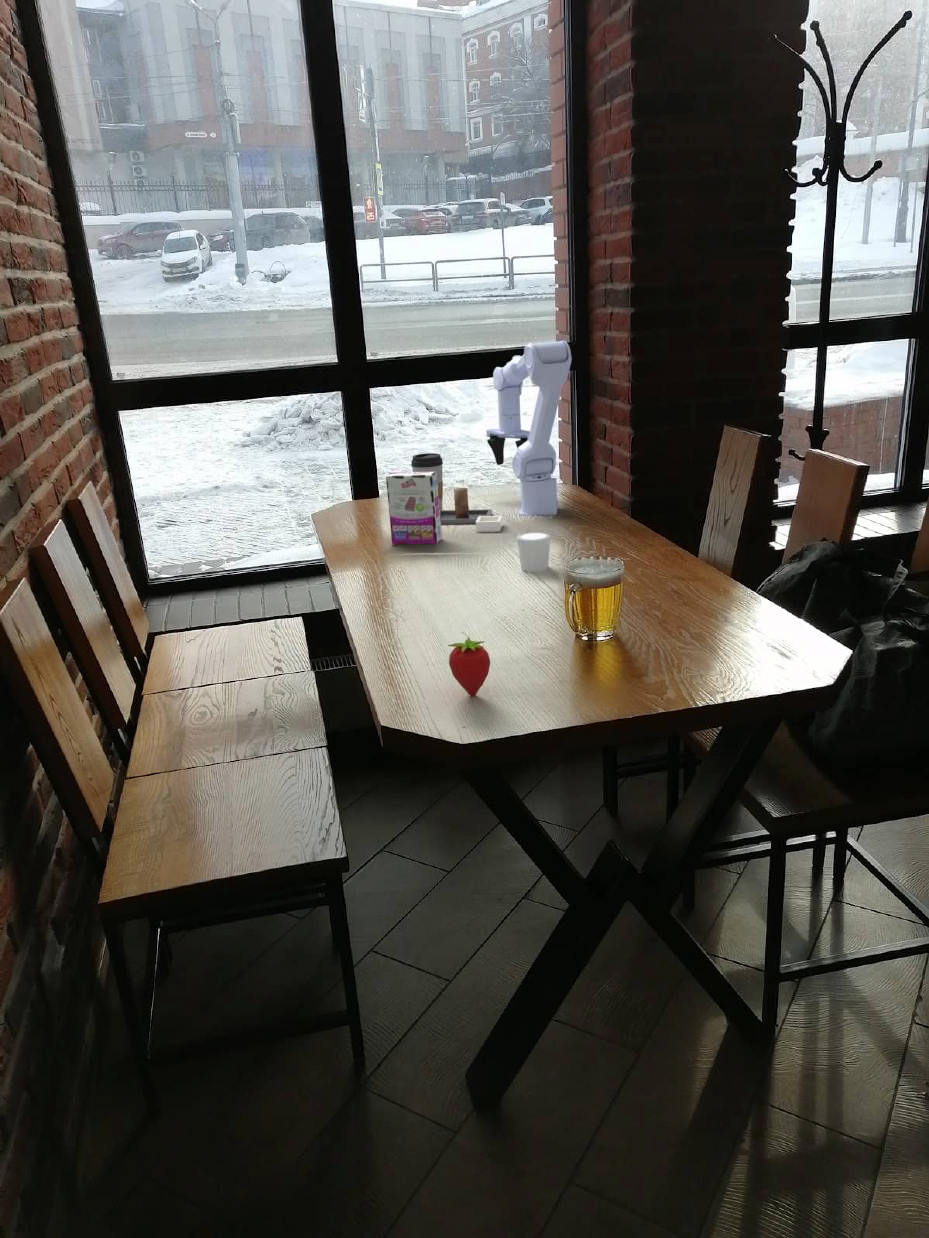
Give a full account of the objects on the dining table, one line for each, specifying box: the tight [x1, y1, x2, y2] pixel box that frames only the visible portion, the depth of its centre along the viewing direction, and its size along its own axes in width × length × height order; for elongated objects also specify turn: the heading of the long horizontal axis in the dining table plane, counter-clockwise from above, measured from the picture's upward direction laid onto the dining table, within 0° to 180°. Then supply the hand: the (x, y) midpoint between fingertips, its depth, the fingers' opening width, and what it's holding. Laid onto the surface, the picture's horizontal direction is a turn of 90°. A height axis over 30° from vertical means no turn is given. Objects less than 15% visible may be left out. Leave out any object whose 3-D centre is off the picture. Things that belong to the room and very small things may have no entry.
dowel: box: [453, 487, 470, 519], centre depth 234 cm, size 3×3×8 cm
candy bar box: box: [385, 471, 443, 546], centre depth 215 cm, size 11×5×16 cm, turn 76°
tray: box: [440, 508, 493, 526], centre depth 235 cm, size 14×10×2 cm
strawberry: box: [447, 631, 491, 697], centre depth 134 cm, size 6×8×10 cm
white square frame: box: [475, 515, 504, 533], centre depth 224 cm, size 6×6×3 cm
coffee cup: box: [410, 452, 444, 511], centre depth 244 cm, size 8×8×15 cm
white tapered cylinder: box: [516, 531, 551, 573], centre depth 192 cm, size 7×7×7 cm
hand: (511, 465), depth 249 cm, fingers open, 7 cm apart
